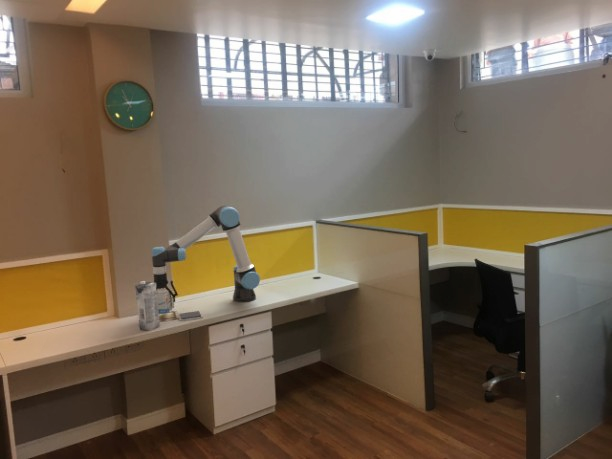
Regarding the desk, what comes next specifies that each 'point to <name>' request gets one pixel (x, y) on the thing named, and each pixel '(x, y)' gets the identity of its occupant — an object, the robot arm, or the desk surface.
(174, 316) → the print board
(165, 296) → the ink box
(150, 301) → the juice carton
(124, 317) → the desk surface
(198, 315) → the ink pad
